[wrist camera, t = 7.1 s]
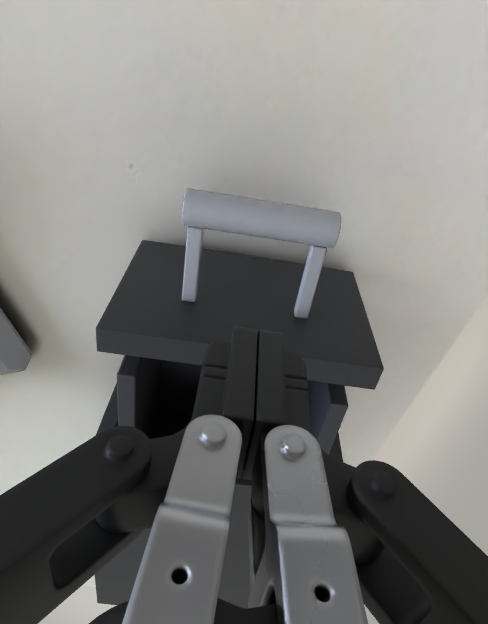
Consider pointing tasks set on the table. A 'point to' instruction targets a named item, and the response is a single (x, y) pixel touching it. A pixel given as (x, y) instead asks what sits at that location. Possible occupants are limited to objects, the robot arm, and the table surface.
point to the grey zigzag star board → (12, 348)
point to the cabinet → (124, 567)
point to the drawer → (235, 313)
